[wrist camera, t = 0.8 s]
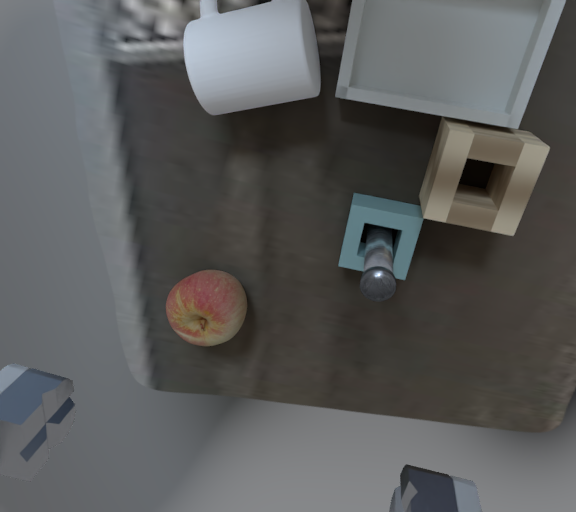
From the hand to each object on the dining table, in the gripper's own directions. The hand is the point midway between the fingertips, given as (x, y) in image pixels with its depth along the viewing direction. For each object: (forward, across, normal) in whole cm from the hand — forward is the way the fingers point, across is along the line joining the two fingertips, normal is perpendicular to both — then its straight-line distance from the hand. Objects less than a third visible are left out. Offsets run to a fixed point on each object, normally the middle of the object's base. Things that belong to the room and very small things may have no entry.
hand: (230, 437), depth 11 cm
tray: (+38, -6, -10) cm, 40 cm away
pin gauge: (+39, -6, +9) cm, 41 cm away
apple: (+40, +11, +21) cm, 47 cm away
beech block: (+39, -13, +1) cm, 41 cm away
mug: (+39, +10, -8) cm, 41 cm away
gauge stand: (+39, -6, +9) cm, 41 cm away
